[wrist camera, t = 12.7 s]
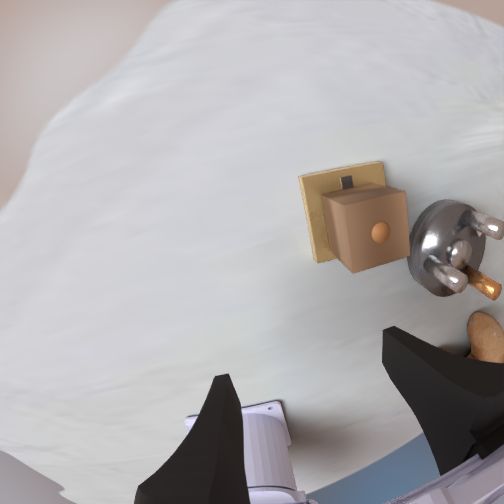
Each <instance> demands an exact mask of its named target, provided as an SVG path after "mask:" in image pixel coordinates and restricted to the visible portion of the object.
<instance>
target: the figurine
mask: <svg viewBox="0 0 504 504" xmlns="http://www.w3.org/2000/svg"><path fill="white" fill-rule="evenodd" d="M467 332H468V337H469V340H470V344H471V353H470V354H469V355H468V357H467V358H471V359H475V360H480V361H487V362H496V363H504V332H503V330H502V328H501V326H500V325H499V323H498V322H497V321H496V320H495V319H494V318H493V317H492V316H490V315H488V314H486V313H482V312H475V313H473V314H472V316H471V317H470V319H469V322H468V326H467ZM445 351H447V350H445ZM448 352H450V351H448ZM450 353H451V352H450Z"/></svg>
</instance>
